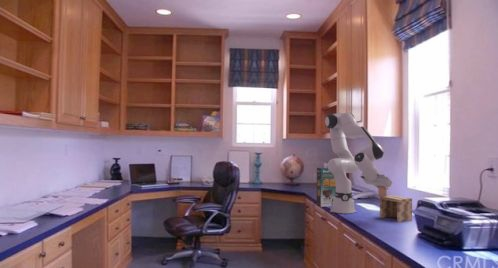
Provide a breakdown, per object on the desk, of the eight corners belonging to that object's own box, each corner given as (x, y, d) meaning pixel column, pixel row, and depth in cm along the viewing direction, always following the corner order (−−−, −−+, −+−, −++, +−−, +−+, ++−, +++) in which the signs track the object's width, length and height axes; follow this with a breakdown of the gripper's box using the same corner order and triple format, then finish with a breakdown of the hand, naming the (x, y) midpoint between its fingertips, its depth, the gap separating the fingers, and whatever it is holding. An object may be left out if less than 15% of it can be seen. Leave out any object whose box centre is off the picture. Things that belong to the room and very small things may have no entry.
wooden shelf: (398, 221, 241) (399, 199, 242) (379, 217, 256) (379, 196, 256) (411, 220, 247) (412, 198, 247) (392, 215, 261) (392, 195, 261)
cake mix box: (339, 204, 309) (340, 167, 310) (344, 205, 303) (344, 167, 304) (316, 205, 301) (316, 167, 302) (320, 206, 295) (320, 168, 296)
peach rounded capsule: (378, 195, 249) (378, 181, 249) (386, 195, 248) (386, 182, 248) (378, 196, 244) (378, 182, 245) (386, 196, 243) (386, 182, 243)
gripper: (387, 171, 234) (398, 186, 238) (363, 169, 252) (374, 183, 256) (382, 179, 232) (393, 194, 236) (358, 176, 250) (369, 190, 254)
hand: (383, 188), depth 246 cm, fingers closed on peach rounded capsule, 5 cm apart
